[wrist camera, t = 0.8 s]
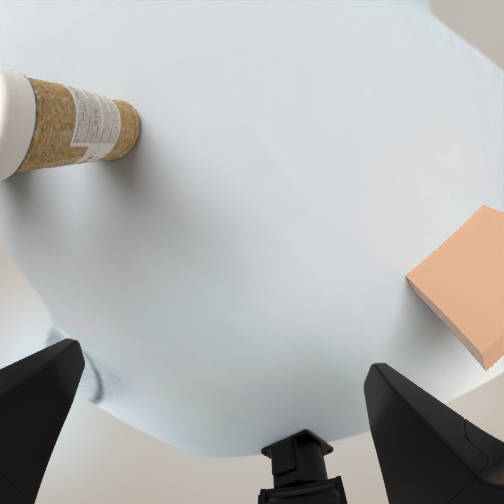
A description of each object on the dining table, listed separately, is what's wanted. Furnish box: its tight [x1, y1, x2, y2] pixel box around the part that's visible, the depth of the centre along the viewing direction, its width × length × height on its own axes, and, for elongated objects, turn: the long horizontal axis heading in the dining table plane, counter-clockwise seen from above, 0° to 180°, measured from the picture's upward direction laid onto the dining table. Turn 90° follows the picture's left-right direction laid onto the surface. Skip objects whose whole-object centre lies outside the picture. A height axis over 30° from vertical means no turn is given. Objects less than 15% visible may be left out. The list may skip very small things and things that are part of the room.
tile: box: [406, 206, 504, 371], centre depth 16 cm, size 2×10×11 cm, turn 130°
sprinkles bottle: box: [0, 68, 140, 181], centre depth 12 cm, size 5×5×13 cm
